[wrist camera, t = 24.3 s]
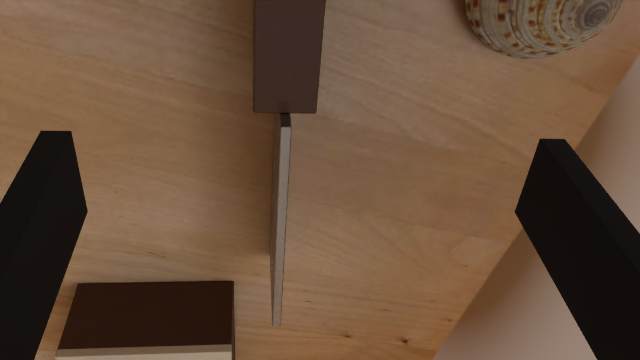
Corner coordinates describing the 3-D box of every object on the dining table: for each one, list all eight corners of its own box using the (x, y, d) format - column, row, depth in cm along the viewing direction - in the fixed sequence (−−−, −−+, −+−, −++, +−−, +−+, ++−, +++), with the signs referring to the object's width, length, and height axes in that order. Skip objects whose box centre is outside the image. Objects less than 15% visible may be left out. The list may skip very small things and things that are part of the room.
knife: (254, -119, 26) (255, -86, 21) (321, -115, 27) (336, -81, 22) (251, 254, 40) (251, 327, 35) (295, 253, 40) (301, 325, 35)
